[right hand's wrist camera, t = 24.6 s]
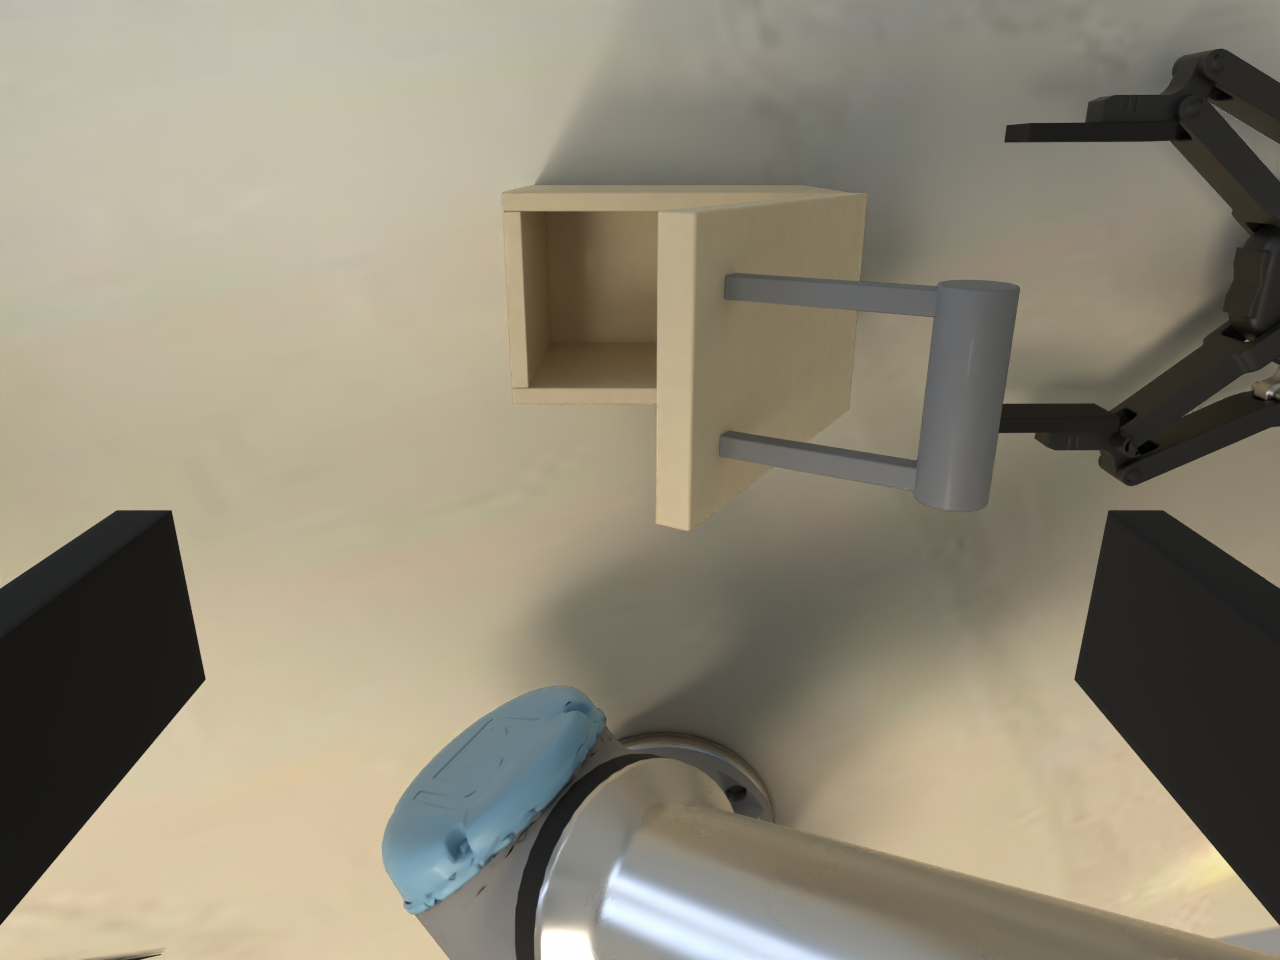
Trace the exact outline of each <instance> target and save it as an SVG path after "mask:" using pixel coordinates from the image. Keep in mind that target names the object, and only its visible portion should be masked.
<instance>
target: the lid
mask: <svg viewBox="0 0 1280 960" xmlns="http://www.w3.org/2000/svg"><path fill="white" fill-rule="evenodd" d="M866 207H867V194H866V193H833V194H823V195H813V196H803V197H792V198H782V199H772V200H762V201H752V202H742V203H732V204H722V205H712V206H702V207H692V208H682V209H671V210H661V211H659V212H658V274H657V417H656V524H659V525H663V526H667V527H672V528H676V529H681V530H685V531H690V530H691V529H693V528H694V527H695V526H697V525H698V524H699V523H701V522H702V521H703V520H705V519H706V518H707V517H709V516H710V515H711V514H713V513H714V512H715V511H716V510H718V509H719V508H720V507H722V506H723V505H724V504H726V503H727V502H728V501H730V500H731V499H732V498H734V497H735V496H736V495H737V494H739V493H740V492H741V491H743V490H744V489H745V488H747V487H748V486H749V485H751V484H752V483H753V482H755V481H756V480H757V479H759V478H760V477H761V476H762V475H764V474H765V473H766V472H768V471H769V470H770V469H772V468H773V467H780V468H786V469H791V470H797V471H803V472H808V473H814V474H819V475H825V476H831V477H836V478H842V479H847V480H853V481H859V482H864V483H870V484H876V485H881V486H887V487H892V488H898V489H904V490H909V491H914V493H913V494H914V497H915V499H916V500H917V501H919V502H920V503H922V504H924V505H926V506H929V507H932V508H935V509H939V510H945V511H952V512H971V511H977V510H980V509H983V508H984V507H986V505H987V504H988V499H989V492H990V486H991V479H992V472H993V466H994V459H995V452H996V445H997V439H998V432H999V425H1000V419H1001V412H1002V405H1003V399H1004V392H1005V385H1006V379H1007V372H1008V365H1009V358H1010V352H1011V345H1012V338H1013V332H1014V325H1015V318H1016V312H1017V305H1018V298H1019V292H1020V288H1019V286H1017V285H1014V284H1010V283H1004V282H996V281H983V280H951V281H944V282H940V283H939V284H938V287H937V286H922V285H907V284H893V283H878V282H863V281H860V277H861V265H862V254H863V242H864V230H865V219H866ZM857 311H867V312H879V313H891V314H903V315H915V316H927V317H934V322H933V331H932V339H931V348H930V356H929V365H928V374H927V382H926V391H925V399H924V408H923V416H922V425H921V433H920V442H919V450H918V459H917V461H915V460H909V459H903V458H896V457H890V456H884V455H878V454H872V453H865V452H859V451H853V450H847V449H841V448H834V447H828V446H822V445H816V444H810V443H806V442H807V441H809V440H810V439H811V438H812V437H814V436H815V435H816V434H818V433H819V432H820V431H822V430H823V429H824V428H826V427H827V426H828V425H830V424H831V423H832V422H834V421H835V420H836V419H837V418H839V417H840V416H841V415H843V414H844V413H845V412H847V411H848V410H849V404H850V392H851V381H852V369H853V358H854V346H855V335H856V323H857Z"/></svg>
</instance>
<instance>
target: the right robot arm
mask: <svg viewBox="0 0 1280 960" xmlns="http://www.w3.org/2000/svg"><path fill="white" fill-rule="evenodd" d="M205 680H206V679H205V674H204V669H203V664H202V659H201V654H200V649H199V644H198V639H197V634H196V630H195V625H194V620H193V615H192V610H191V605H190V600H189V595H188V590H187V585H186V580H185V575H184V570H183V565H182V560H181V555H180V550H179V545H178V540H177V535H176V530H175V525H174V520H173V515H172V510H117V511H115V512H114V513H112V514H111V515H109V516H108V517H106V518H105V519H103V520H102V521H100V522H99V523H97V524H96V525H94V526H93V527H91V528H90V529H88V530H87V531H86V532H84V533H83V534H81V535H80V536H78V537H77V538H75V539H74V540H72V541H71V542H69V543H68V544H66V545H65V546H63V547H62V548H60V549H59V550H57V551H56V552H54V553H53V554H51V555H50V556H48V557H47V558H45V559H44V560H42V561H41V562H39V563H38V564H36V565H35V566H33V567H32V568H30V569H29V570H27V571H26V572H24V573H23V574H21V575H20V576H18V577H17V578H15V579H14V580H13V581H11V582H10V583H8V584H7V585H5V586H4V587H2V588H1V589H0V925H1V924H2V923H3V921H4V920H5V919H6V918H7V917H8V915H9V914H10V913H11V912H12V911H13V909H14V908H15V907H16V906H17V905H18V904H19V902H20V901H21V900H22V899H23V898H24V896H25V895H26V894H27V893H28V892H29V890H30V889H31V888H32V887H33V886H34V884H35V883H36V882H37V881H38V880H39V878H40V877H41V876H42V875H43V874H44V872H45V871H46V870H47V869H48V868H49V866H50V865H51V864H52V863H53V862H54V860H55V859H56V858H57V857H58V856H59V854H60V853H61V852H62V851H63V850H64V848H65V847H66V846H67V845H68V844H69V842H70V841H71V840H72V839H73V838H74V836H75V835H76V834H77V833H78V832H79V830H80V829H81V828H82V827H83V826H84V824H85V823H86V822H87V821H88V820H89V818H90V817H91V816H92V815H93V814H94V812H95V811H96V810H97V809H98V808H99V807H100V805H101V804H102V803H103V802H104V801H105V799H106V798H107V797H108V796H109V795H110V793H111V792H112V791H113V790H114V789H115V787H116V786H117V785H118V784H119V783H120V781H121V780H122V779H123V778H124V777H125V775H126V774H127V773H128V772H129V771H130V769H131V768H132V767H133V766H134V765H135V763H136V762H137V761H138V760H139V759H140V757H141V756H142V755H143V754H144V753H145V751H146V750H147V749H148V748H149V747H150V745H151V744H152V743H153V742H154V741H155V739H156V738H157V737H158V736H159V735H160V733H161V732H162V731H163V730H164V729H165V727H166V726H167V725H168V724H169V723H170V721H171V720H172V719H173V718H174V717H175V715H176V714H177V713H178V712H179V711H180V710H181V708H182V707H183V706H184V705H185V704H186V702H187V701H188V700H189V699H190V698H191V696H192V695H193V694H194V693H195V692H196V690H197V689H198V688H199V687H200V686H201V684H202V683H203V682H204V681H205ZM1074 680H1075V681H1076V682H1077V683H1078V684H1079V686H1080V687H1081V688H1082V689H1083V690H1084V692H1085V693H1086V694H1087V695H1088V696H1089V698H1090V699H1091V700H1092V701H1093V702H1094V704H1095V705H1096V706H1097V707H1098V708H1099V710H1100V711H1101V712H1102V713H1103V714H1104V715H1105V717H1106V718H1107V719H1108V720H1109V721H1110V723H1111V724H1112V725H1113V726H1114V727H1115V729H1116V730H1117V731H1118V732H1119V733H1120V735H1121V736H1122V737H1123V738H1124V739H1125V741H1126V742H1127V743H1128V744H1129V745H1130V747H1131V748H1132V749H1133V750H1134V751H1135V753H1136V754H1137V755H1138V756H1139V757H1140V759H1141V760H1142V761H1143V762H1144V763H1145V765H1146V766H1147V767H1148V768H1149V769H1150V771H1151V772H1152V773H1153V774H1154V775H1155V777H1156V778H1157V779H1158V780H1159V781H1160V783H1161V784H1162V785H1163V786H1164V787H1165V789H1166V790H1167V791H1168V792H1169V793H1170V795H1171V796H1172V797H1173V798H1174V799H1175V801H1176V802H1177V803H1178V804H1179V805H1180V807H1181V808H1182V809H1183V810H1184V811H1185V812H1186V814H1187V815H1188V816H1189V817H1190V818H1191V820H1192V821H1193V822H1194V823H1195V824H1196V826H1197V827H1198V828H1199V829H1200V830H1201V832H1202V833H1203V834H1204V835H1205V836H1206V838H1207V839H1208V840H1209V841H1210V842H1211V844H1212V845H1213V846H1214V847H1215V848H1216V850H1217V851H1218V852H1219V853H1220V854H1221V856H1222V857H1223V858H1224V859H1225V860H1226V862H1227V863H1228V864H1229V865H1230V866H1231V868H1232V869H1233V870H1234V871H1235V872H1236V874H1237V875H1238V876H1239V877H1240V878H1241V880H1242V881H1243V882H1244V883H1245V884H1246V886H1247V887H1248V888H1249V889H1250V890H1251V892H1252V893H1253V894H1254V895H1255V896H1256V898H1257V899H1258V900H1259V901H1260V902H1261V904H1262V905H1263V906H1264V907H1265V908H1266V909H1267V911H1268V912H1269V913H1270V914H1271V915H1272V917H1273V918H1274V919H1275V920H1276V921H1277V923H1278V924H1279V925H1280V589H1279V588H1278V587H1276V586H1275V585H1273V584H1272V583H1270V582H1269V581H1267V580H1266V579H1265V578H1263V577H1262V576H1260V575H1259V574H1257V573H1256V572H1254V571H1253V570H1251V569H1250V568H1248V567H1247V566H1245V565H1244V564H1242V563H1241V562H1239V561H1238V560H1236V559H1235V558H1233V557H1232V556H1230V555H1229V554H1227V553H1226V552H1224V551H1223V550H1221V549H1220V548H1218V547H1217V546H1215V545H1214V544H1212V543H1211V542H1209V541H1208V540H1206V539H1205V538H1203V537H1202V536H1200V535H1199V534H1197V533H1196V532H1194V531H1193V530H1192V529H1190V528H1189V527H1187V526H1186V525H1184V524H1183V523H1181V522H1180V521H1178V520H1177V519H1175V518H1174V517H1172V516H1171V515H1169V514H1168V513H1166V512H1165V511H1163V510H1109V511H1108V515H1107V520H1106V525H1105V530H1104V535H1103V540H1102V545H1101V550H1100V555H1099V560H1098V565H1097V570H1096V575H1095V580H1094V585H1093V590H1092V595H1091V600H1090V605H1089V610H1088V615H1087V620H1086V625H1085V630H1084V634H1083V639H1082V644H1081V649H1080V654H1079V659H1078V664H1077V669H1076V674H1075V679H1074Z"/></svg>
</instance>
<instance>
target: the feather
mask: <svg viewBox="0 0 1280 960" xmlns="http://www.w3.org/2000/svg"><path fill="white" fill-rule="evenodd" d="M158 955H159V956H160V955H162V954H158ZM153 956H157V955H152V956H146V957H140V958H134V959H128V960H141V959H145V958H149V957H153Z"/></svg>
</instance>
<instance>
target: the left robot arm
mask: <svg viewBox="0 0 1280 960" xmlns="http://www.w3.org/2000/svg"><path fill="white" fill-rule="evenodd" d="M1172 75H1173V78H1172V80H1171V82H1170V84H1169V86H1168V87H1167V89H1166V90H1165V91H1164V92H1163V93H1161V94H1160V95H1113V96H1106V97H1100V98H1097V99H1095V100H1092V101H1090V102H1089V103H1088V109H1087V115H1086V122H1085V123H1027V124H1016V125H1007V127H1006V135H1005V142H1144V141H1171V142H1172V144H1173V145H1174V146H1175V147H1176V148H1177V149H1178V150H1179V151H1180V152H1181V153H1182V154H1183V156H1184V157H1185V158H1186V159H1187V160H1188V161H1189V162H1190V163H1191V164H1192V165H1193V167H1194V168H1195V169H1196V170H1197V171H1198V172H1199V173H1200V174H1201V175H1202V176H1203V177H1204V179H1205V180H1206V181H1207V182H1208V183H1209V184H1210V185H1211V186H1212V187H1213V188H1214V189H1215V191H1216V192H1217V193H1218V194H1219V195H1220V196H1221V197H1222V198H1223V199H1224V200H1225V201H1226V203H1227V204H1228V205H1229V206H1230V207H1231V208H1232V210H1233V211H1232V215H1233V217H1234V218H1235V219H1236V220H1237V221H1238V222H1239V223H1240V224H1241V225H1242V227H1243V228H1244V229H1245V230H1246V231H1247V232H1248V233H1249V234H1250V235H1251V236H1250V237H1249V238H1248V240H1247V241H1246V242H1245V244H1244V246H1243V248H1237V250H1236V255H1235V259H1234V281H1233V283H1232V285H1231V287H1230V289H1229V291H1228V293H1227V295H1226V299H1225V303H1224V308H1223V311H1225V312H1228V317H1229V321H1227V322H1226V323H1224V324H1223V325H1222V326H1220V327H1219V328H1217V329H1216V330H1215V331H1213V332H1212V333H1210V334H1209V335H1208V336H1207V337H1205V338H1204V340H1203V345H1202V346H1201V347H1199V348H1198V349H1197V350H1195V351H1194V352H1192V353H1191V354H1190V355H1188V356H1187V357H1185V358H1184V359H1183V360H1181V361H1180V362H1178V363H1177V364H1176V365H1174V366H1173V367H1171V368H1170V369H1168V370H1167V371H1166V372H1164V373H1163V374H1161V375H1160V376H1159V377H1157V378H1156V379H1154V380H1153V381H1152V382H1150V383H1149V384H1147V385H1146V386H1145V387H1143V388H1142V389H1140V390H1139V391H1138V392H1136V393H1135V394H1133V395H1132V396H1131V397H1129V398H1128V399H1126V400H1125V401H1124V402H1122V403H1121V404H1119V405H1118V406H1116V407H1115V408H1114V409H1112V410H1111V411H1107V410H1105V409H1103V408H1101V407H1099V406H1098V405H1096V404H1003V405H1002V412H1001V419H1000V425H999V432H998V433H1035V439H1036V440H1038V441H1039V442H1040V443H1042V444H1043V445H1045V446H1046V447H1048V448H1051V449H1053V450H1100V453H1101V455H1100V457H1099V460H1098V462H1099V466H1100V467H1101V468H1102V469H1103V470H1105V471H1106V472H1108V473H1109V474H1111V475H1112V476H1114V477H1115V478H1117V479H1118V480H1120V481H1121V482H1123V483H1124V484H1126V485H1128V486H1134V485H1137V484H1140V483H1142V482H1144V481H1147V480H1149V479H1151V478H1154V477H1156V476H1158V475H1161V474H1163V473H1165V472H1168V471H1170V470H1172V469H1175V468H1177V467H1179V466H1182V465H1184V464H1186V463H1189V462H1191V461H1193V460H1196V459H1198V458H1200V457H1203V456H1205V455H1207V454H1210V453H1212V452H1214V451H1217V450H1219V449H1221V448H1224V447H1226V446H1228V445H1231V444H1233V443H1235V442H1238V441H1240V440H1242V439H1245V438H1247V437H1249V436H1252V435H1254V434H1256V433H1259V432H1261V431H1263V430H1266V429H1268V428H1270V427H1277V426H1280V182H1279V180H1278V179H1277V178H1276V177H1275V176H1274V175H1273V174H1272V173H1271V171H1270V170H1269V169H1268V168H1267V167H1266V166H1265V165H1264V164H1263V162H1262V161H1261V160H1260V159H1259V158H1258V157H1257V156H1256V155H1255V153H1254V152H1253V151H1252V150H1251V149H1250V148H1249V147H1248V146H1247V144H1246V143H1245V142H1244V141H1243V140H1242V139H1241V138H1240V137H1239V135H1238V134H1237V133H1236V132H1235V131H1234V130H1233V129H1232V128H1231V126H1230V125H1229V124H1228V123H1227V122H1226V121H1225V120H1224V119H1223V117H1222V116H1221V115H1220V114H1219V113H1218V112H1217V111H1216V110H1215V108H1214V107H1213V106H1212V105H1211V104H1210V103H1209V102H1211V103H1213V104H1214V105H1216V106H1218V107H1219V108H1221V109H1223V110H1224V111H1226V112H1228V113H1229V114H1231V115H1232V116H1234V117H1236V118H1237V119H1239V120H1241V121H1242V122H1244V123H1246V124H1247V125H1249V126H1251V127H1252V128H1254V129H1256V130H1257V131H1259V132H1261V133H1262V134H1264V135H1266V136H1267V137H1269V138H1271V139H1272V140H1274V141H1276V142H1277V143H1279V144H1280V83H1279V82H1277V81H1276V80H1274V79H1273V78H1271V77H1269V76H1268V75H1266V74H1264V73H1263V72H1261V71H1260V70H1258V69H1256V68H1255V67H1253V66H1251V65H1250V64H1248V63H1247V62H1245V61H1243V60H1242V59H1240V58H1239V57H1237V56H1235V55H1234V54H1232V53H1230V52H1229V51H1227V50H1224V49H1216V50H1210V51H1205V52H1200V53H1195V54H1190V55H1185V56H1182V57H1181V58H1179V59H1178V60H1177V61H1176V62H1175V64H1174V66H1173V69H1172ZM1207 100H1208V101H1209V102H1208V101H1207ZM1245 340H1249V341H1250V342H1244V341H1245ZM1272 361H1273V362H1275V363H1277V364H1279V367H1278V370H1277V372H1276V373H1275V374H1274V375H1273V376H1272V377H1270V378H1268V379H1265V380H1263V381H1261V382H1259V381H1258V382H1255V383H1253V385H1252V386H1251V390H1252V391H1249V392H1243V393H1239V394H1236V395H1233V396H1230V397H1227V398H1225V399H1222V400H1220V401H1218V402H1216V403H1213V404H1211V405H1209V406H1207V407H1204V408H1202V409H1200V410H1197V411H1195V412H1193V413H1191V414H1188V415H1186V416H1184V415H1185V414H1187V413H1188V412H1189V411H1191V410H1192V409H1194V408H1195V407H1197V406H1198V405H1199V404H1201V403H1202V402H1204V401H1205V400H1207V399H1208V398H1210V397H1211V396H1212V395H1214V394H1215V393H1217V392H1218V391H1220V390H1221V389H1222V388H1224V387H1225V386H1227V385H1228V384H1230V383H1231V382H1233V381H1234V380H1235V379H1237V378H1238V377H1240V376H1241V375H1243V374H1245V373H1248V372H1254V371H1257V370H1259V369H1261V368H1263V367H1264V366H1266V365H1267V364H1269V363H1270V362H1272ZM1182 416H1184V417H1182ZM605 724H606V717H605V715H604V713H603V711H602V710H600V709H599V708H597V707H596V706H595V705H594V704H593V703H592V702H591V700H590V699H589V698H588V697H587V696H586V695H585V694H584V693H583V692H581V691H580V690H578V689H576V688H573V687H568V686H552V687H546V688H541V689H538V690H534V691H532V692H529V693H526V694H524V695H521V696H519V697H517V698H515V699H513V700H511V701H509V702H507V703H505V704H503V705H502V706H500V707H498V708H497V709H495V710H494V711H492V712H490V713H489V714H487V715H485V716H484V717H482V718H481V719H479V720H478V721H476V722H475V723H474V724H472V725H471V726H470V727H468V728H467V729H466V730H465V731H463V732H462V733H461V734H460V735H458V736H457V737H456V738H455V739H454V740H452V741H451V742H450V743H449V744H448V745H447V746H446V747H444V748H443V749H442V750H441V751H440V752H439V753H438V754H437V755H436V756H435V757H434V758H433V759H432V760H431V761H430V762H429V763H428V764H427V765H426V766H425V767H424V769H423V770H422V771H421V772H420V773H419V774H418V776H417V777H416V778H415V779H414V780H413V782H412V783H411V784H410V786H409V787H408V788H407V790H406V791H405V792H404V794H403V795H402V797H401V798H400V800H399V802H398V803H397V805H396V807H395V810H394V813H393V814H392V816H391V818H390V819H389V821H388V824H387V826H386V829H385V832H384V837H383V842H382V859H383V864H384V867H385V869H386V871H387V873H388V875H389V877H390V878H391V880H392V882H393V883H394V885H395V886H396V888H397V889H398V891H399V893H400V894H401V896H402V898H403V899H404V908H405V909H406V910H407V911H408V912H409V913H410V914H415V916H416V917H417V918H418V919H419V921H420V922H421V923H422V925H423V926H424V927H425V928H426V930H427V931H428V932H429V933H430V935H431V936H432V937H433V939H434V940H435V941H436V942H437V944H438V945H439V946H440V947H441V949H442V950H443V951H444V953H445V954H446V955H447V956H448V958H449V959H450V960H1280V957H1279V956H1275V955H1272V954H1268V953H1264V952H1260V951H1256V950H1253V949H1249V948H1245V947H1241V946H1237V945H1234V944H1230V943H1226V942H1222V941H1218V940H1215V939H1211V938H1207V937H1203V936H1200V935H1196V934H1192V933H1188V932H1184V931H1181V930H1177V929H1173V928H1169V927H1165V926H1162V925H1158V924H1154V923H1150V922H1146V921H1143V920H1139V919H1135V918H1131V917H1127V916H1124V915H1120V914H1116V913H1112V912H1108V911H1105V910H1101V909H1097V908H1093V907H1089V906H1086V905H1082V904H1078V903H1074V902H1070V901H1067V900H1063V899H1059V898H1055V897H1051V896H1048V895H1044V894H1040V893H1036V892H1032V891H1029V890H1025V889H1021V888H1017V887H1013V886H1010V885H1006V884H1002V883H998V882H994V881H991V880H987V879H983V878H979V877H975V876H972V875H968V874H964V873H960V872H956V871H953V870H949V869H945V868H941V867H937V866H934V865H930V864H926V863H922V862H919V861H915V860H911V859H907V858H903V857H900V856H896V855H892V854H888V853H884V852H881V851H877V850H873V849H869V848H865V847H862V846H858V845H854V844H850V843H846V842H843V841H839V840H835V839H831V838H827V837H824V836H820V835H816V834H812V833H808V832H805V831H801V830H797V829H793V828H789V827H786V826H782V825H778V824H774V819H773V814H772V809H771V804H770V800H769V797H768V794H767V792H766V789H765V787H764V785H763V783H762V781H761V780H760V779H759V777H758V776H757V774H756V773H755V772H754V771H753V769H752V768H751V767H750V766H749V765H748V764H747V763H746V762H745V761H744V760H743V759H741V758H740V757H739V756H737V755H736V754H735V753H733V752H731V751H730V750H728V749H727V748H725V747H723V746H721V745H719V744H717V743H714V742H712V741H709V740H706V739H703V738H700V737H696V736H691V735H686V734H678V733H652V734H644V735H639V736H634V737H630V738H627V739H623V740H620V741H617V740H616V739H615V738H614V736H613V735H612V734H611V732H610V731H609V729H608V728H607V726H606V725H605Z"/></svg>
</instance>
